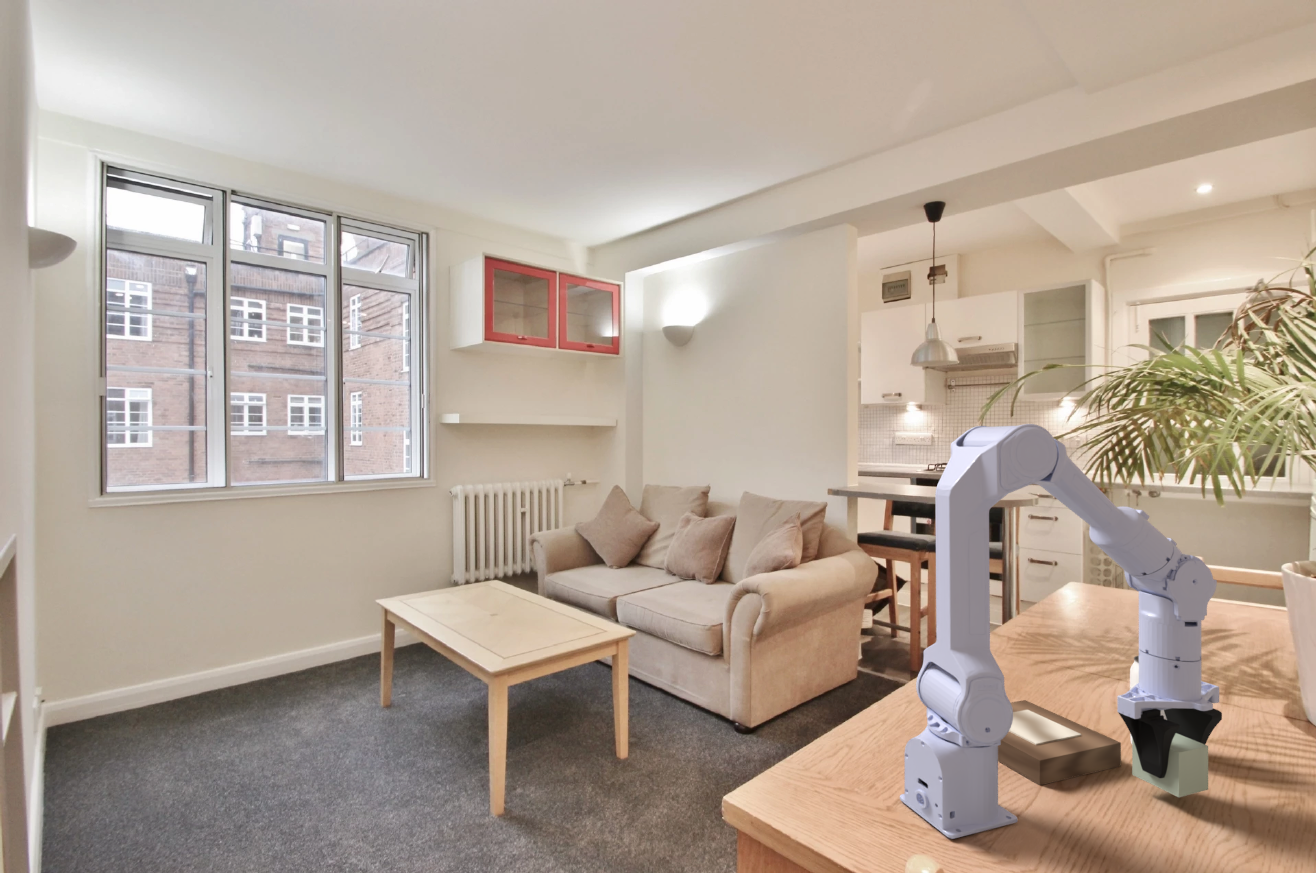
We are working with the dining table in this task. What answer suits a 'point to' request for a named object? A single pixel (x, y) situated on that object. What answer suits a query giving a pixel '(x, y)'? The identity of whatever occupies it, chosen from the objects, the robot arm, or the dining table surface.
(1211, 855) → the dining table surface
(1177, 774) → the cube
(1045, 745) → the base
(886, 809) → the dining table surface
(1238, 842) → the dining table surface
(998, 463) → the robot arm
